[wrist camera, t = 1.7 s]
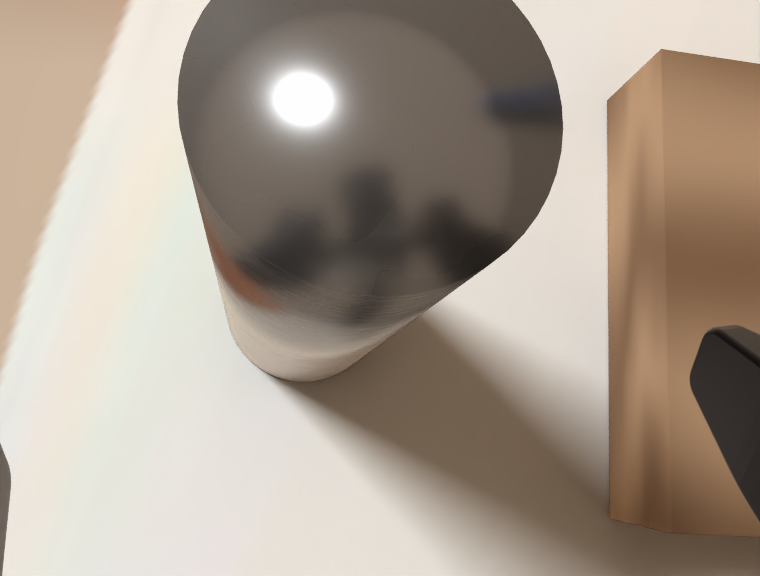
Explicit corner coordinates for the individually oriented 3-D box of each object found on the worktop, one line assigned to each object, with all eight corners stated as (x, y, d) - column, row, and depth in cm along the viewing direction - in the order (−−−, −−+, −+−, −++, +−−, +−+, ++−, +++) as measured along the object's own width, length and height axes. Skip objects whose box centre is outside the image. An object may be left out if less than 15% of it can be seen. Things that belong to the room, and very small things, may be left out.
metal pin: (374, 387, 19) (561, 312, 7) (218, 375, 18) (154, 275, 7) (383, 239, 20) (564, -38, 8) (234, 223, 19) (200, -99, 8)
